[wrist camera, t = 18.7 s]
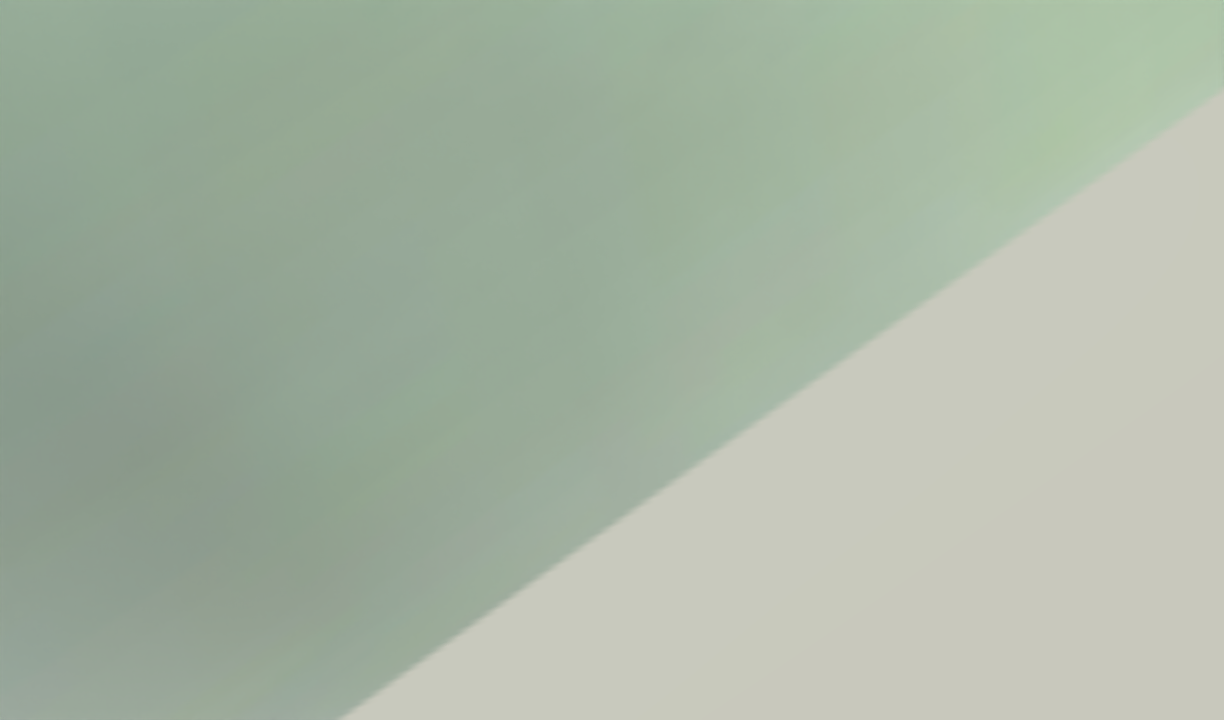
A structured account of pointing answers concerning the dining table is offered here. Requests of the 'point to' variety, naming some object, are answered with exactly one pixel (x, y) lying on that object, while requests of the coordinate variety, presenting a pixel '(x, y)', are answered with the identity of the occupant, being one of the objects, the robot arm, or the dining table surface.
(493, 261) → the dining table surface
